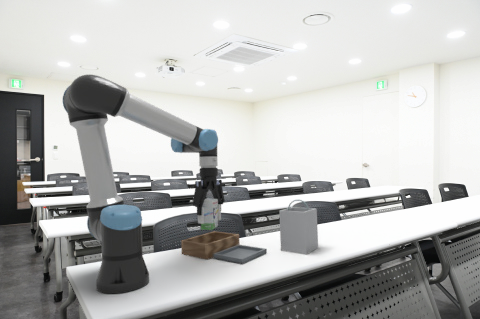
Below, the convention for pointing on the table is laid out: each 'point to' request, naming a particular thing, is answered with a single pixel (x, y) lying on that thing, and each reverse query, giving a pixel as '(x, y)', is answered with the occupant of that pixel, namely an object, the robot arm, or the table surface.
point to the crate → (208, 244)
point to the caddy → (298, 230)
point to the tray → (240, 254)
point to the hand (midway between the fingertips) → (209, 221)
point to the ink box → (210, 214)
